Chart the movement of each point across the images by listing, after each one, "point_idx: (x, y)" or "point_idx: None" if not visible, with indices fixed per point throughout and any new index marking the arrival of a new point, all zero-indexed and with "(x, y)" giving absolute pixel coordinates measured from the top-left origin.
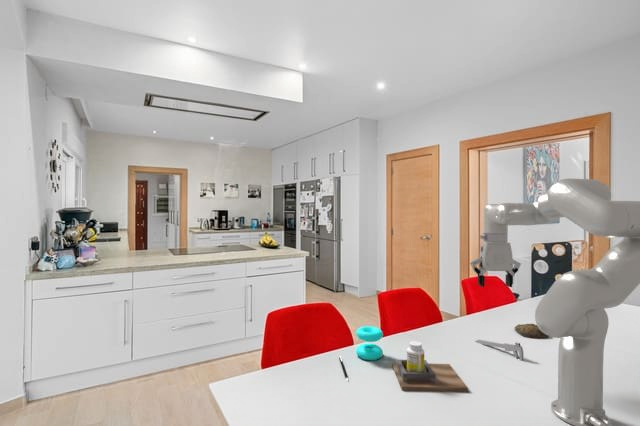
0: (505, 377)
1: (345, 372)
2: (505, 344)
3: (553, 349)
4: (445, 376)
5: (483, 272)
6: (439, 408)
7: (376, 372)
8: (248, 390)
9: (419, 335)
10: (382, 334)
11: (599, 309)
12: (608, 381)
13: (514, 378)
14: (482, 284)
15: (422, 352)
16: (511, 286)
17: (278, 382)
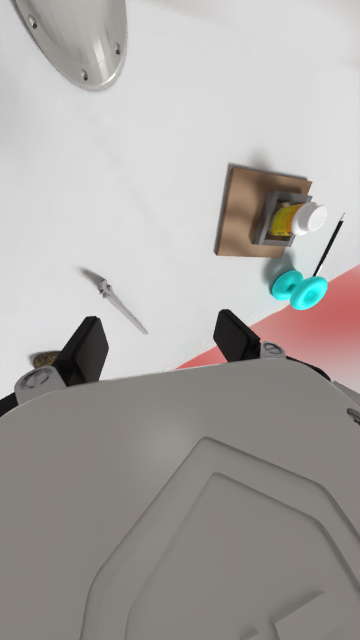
0: (153, 219)
1: (335, 235)
2: (119, 305)
3: (39, 320)
4: (243, 212)
5: (268, 356)
6: (298, 109)
7: (302, 239)
8: None
9: (206, 340)
10: (299, 288)
11: None
12: None
13: (141, 215)
14: (231, 314)
15: (305, 206)
16: (89, 317)
17: None
